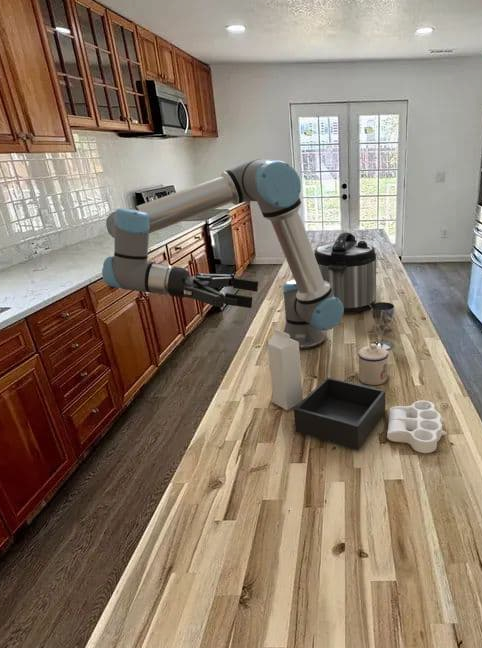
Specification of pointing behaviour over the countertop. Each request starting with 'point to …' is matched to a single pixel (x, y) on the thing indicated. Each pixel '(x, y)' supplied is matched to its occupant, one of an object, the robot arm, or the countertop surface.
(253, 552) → the countertop surface
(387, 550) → the countertop surface
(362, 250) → the pressure cooker
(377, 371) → the teacup with lid
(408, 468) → the countertop surface
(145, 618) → the countertop surface
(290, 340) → the milk
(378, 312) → the wine glass
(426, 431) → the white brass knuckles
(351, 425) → the tray
